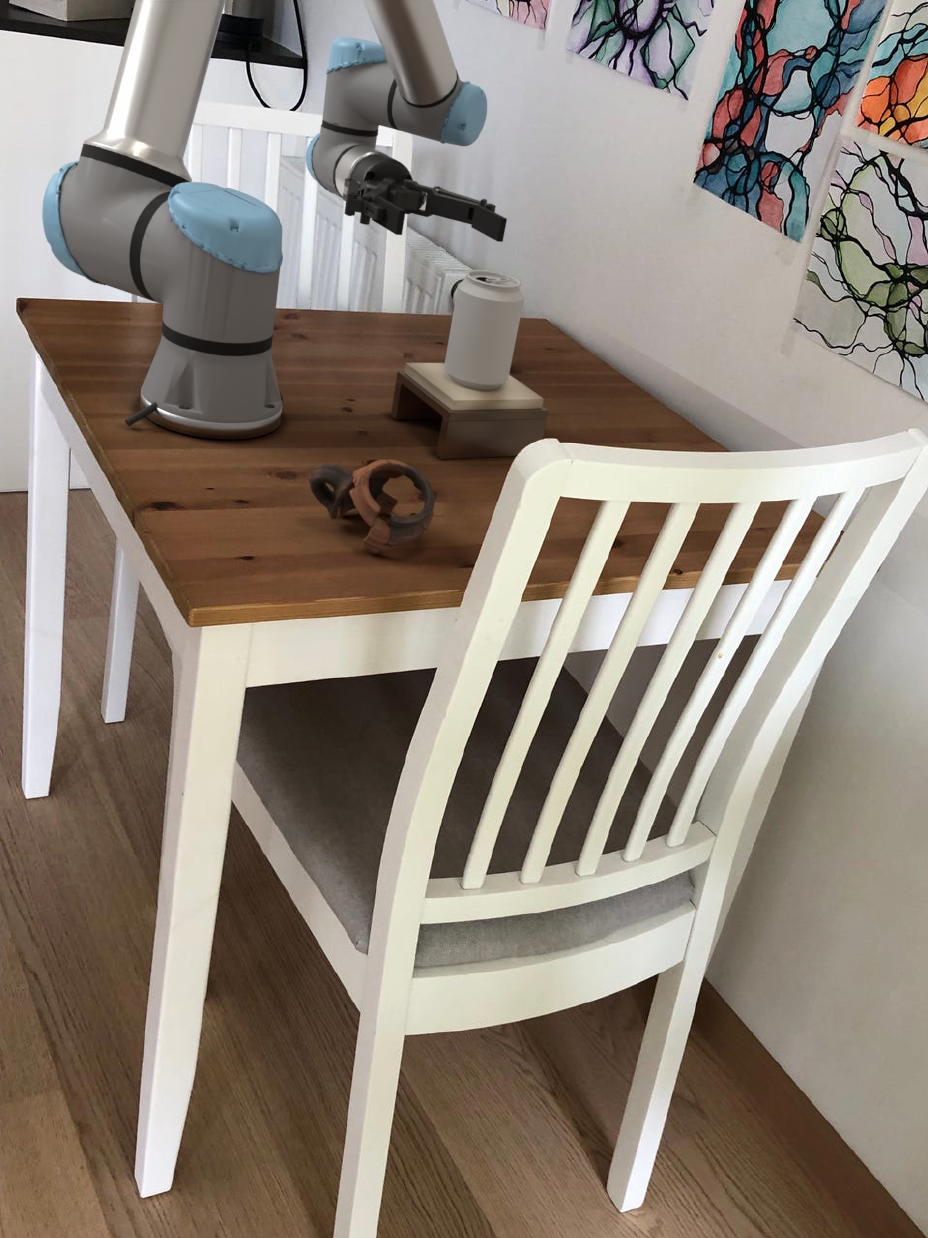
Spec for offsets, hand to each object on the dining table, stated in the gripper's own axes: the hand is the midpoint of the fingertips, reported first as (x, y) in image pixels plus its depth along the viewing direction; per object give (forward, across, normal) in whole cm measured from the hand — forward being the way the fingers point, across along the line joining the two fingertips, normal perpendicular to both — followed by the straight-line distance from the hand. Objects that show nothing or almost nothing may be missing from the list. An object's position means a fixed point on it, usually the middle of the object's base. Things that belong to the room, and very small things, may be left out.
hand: (452, 226), depth 144 cm
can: (+12, +1, -14) cm, 19 cm away
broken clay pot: (+34, +24, -21) cm, 46 cm away
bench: (+12, +1, -21) cm, 24 cm away
